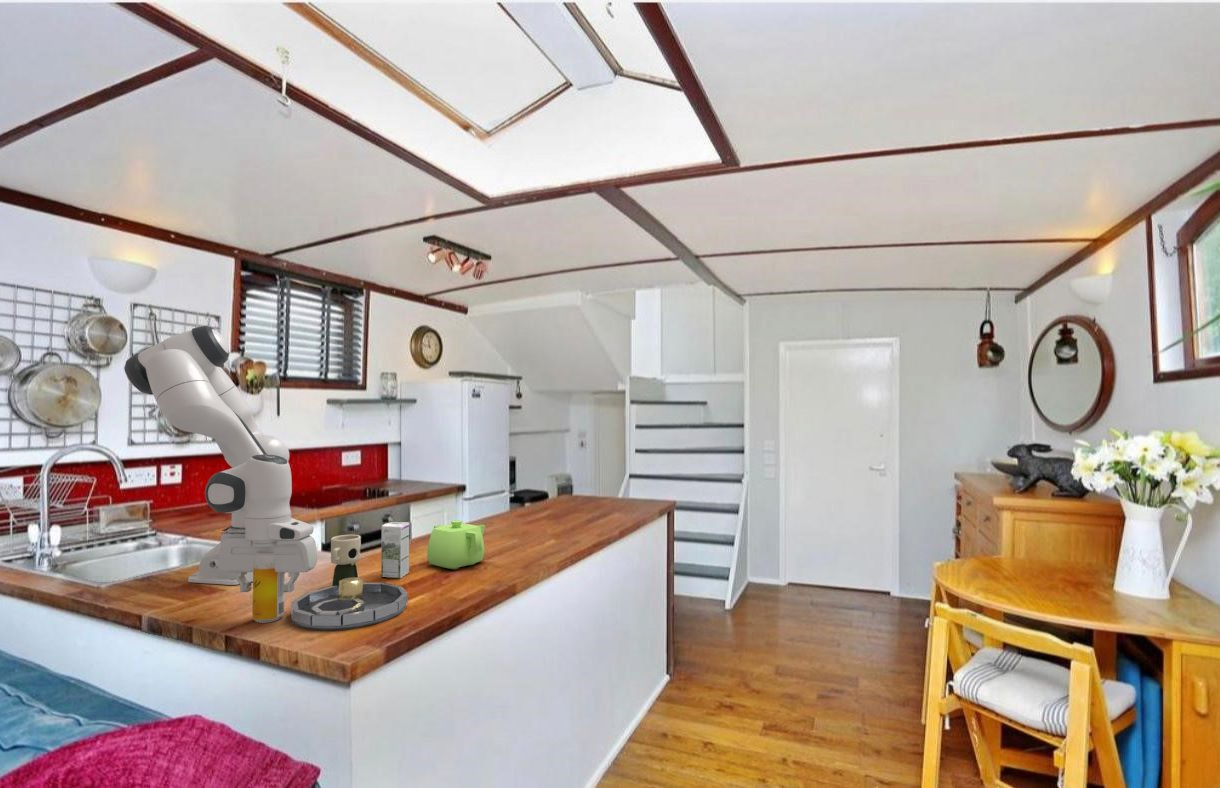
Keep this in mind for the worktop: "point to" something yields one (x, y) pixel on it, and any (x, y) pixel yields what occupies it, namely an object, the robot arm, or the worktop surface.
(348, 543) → the character mug
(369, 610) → the tray
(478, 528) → the teapot
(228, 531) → the robot arm
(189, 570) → the worktop surface
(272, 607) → the beer can
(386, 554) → the syrup box
